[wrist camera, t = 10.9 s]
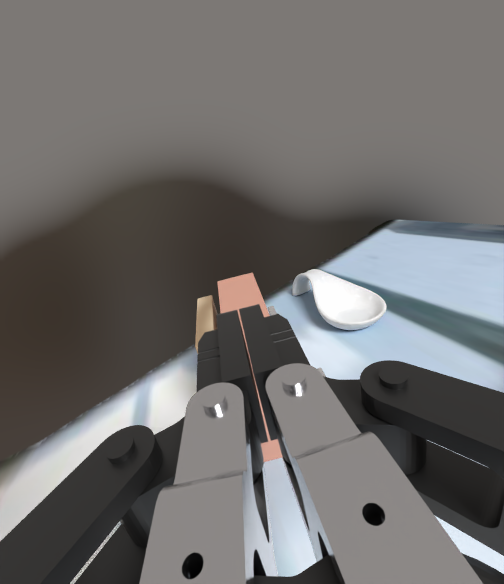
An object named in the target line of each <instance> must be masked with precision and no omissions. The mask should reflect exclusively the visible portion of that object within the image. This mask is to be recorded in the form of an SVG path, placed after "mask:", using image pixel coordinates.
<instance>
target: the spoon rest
mask: <svg viewBox="0 0 504 584" xmlns="http://www.w3.org/2000/svg"><path fill="white" fill-rule="evenodd" d="M309 280H310V282H311V285H312V289H313V294H314V300H315V303H316V306H317V309H318V311H319V313H320V314H321V316H322V317H323V319H324V320H325V321H326V322H328V323H329V324H330V325H332V326H334V327H337V328H340V329H344V330H358V329H362V328H366V327H368V326H370V325H372V324H374V323H375V322H377V321H378V320H379V319H380V318H381V317H382V316H383V314H384V313H385V311H386V304H385V302H384V300H383V299H382V298H381V297H380V296H378V295H377V294H375V293H374V292H372V291H370V290H367V289H365V288H363V287H360V286H357V285H355V284H352V283H350V282H347V281H345V280H343V279H340V278H338V277H335V276H333V275H331V274H328V273H326V272H323V271H321V270H317V269H312V270H309V271H308V272H306V273H302V274H299V275H298V276H297V277H296V278H295V280H294V283H293V288H292V293H293V296H297V295H301V294H303V293H305V292H308V291H309V290H310V284H309Z"/></svg>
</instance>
